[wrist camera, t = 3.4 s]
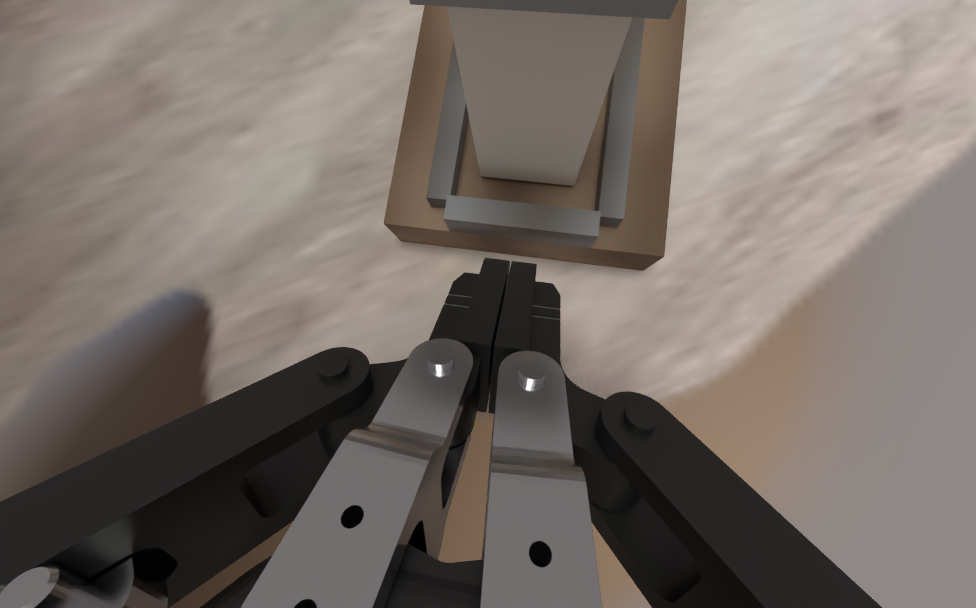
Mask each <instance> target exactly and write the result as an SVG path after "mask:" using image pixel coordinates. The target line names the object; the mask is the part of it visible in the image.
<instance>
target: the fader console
mask: <svg viewBox="0 0 976 608" xmlns="http://www.w3.org/2000/svg"><path fill="white" fill-rule="evenodd" d="M686 3H687V0H678V2H677V4H676V6H675V8H674V11H673V13H672V15H671V17H670V19H652V18H635V17H632V20H631V23H630V26H629V29H628V32H627V35H626V37H625V40H624V43H623V46H622V49H621V52H620V55H619V58H618V61H617V63H616V66H615V69H614V72H613V75H612V78H611V81H610V84H609V87H608V89H607V92H606V95H605V98H604V101H603V104H602V107H601V110H600V113H599V115H598V118H597V121H596V124H595V127H594V130H593V133H592V136H591V139H590V141H589V144H588V147H587V150H586V153H585V156H584V159H583V162H582V165H581V167H580V170H579V173H578V176H577V179H576V182H575V185H574V186H570V185H561V184H551V183H541V182H531V181H522V180H512V179H502V178H492V177H483V176H480V171H479V166H478V161H477V156H476V150H475V145H474V140H473V135H472V130H471V125H470V120H469V115H468V110H467V105H466V100H465V95H464V90H463V85H462V80H461V75H460V70H459V64H458V59H457V54H456V49H455V44H454V39H453V34H452V29H451V24H450V19H449V14H448V9H447V6H432V5H425V7H424V12H423V17H422V22H421V28H420V33H419V38H418V44H417V49H416V54H415V60H414V65H413V70H412V76H411V81H410V86H409V92H408V97H407V102H406V108H405V113H404V118H403V123H402V129H401V134H400V139H399V145H398V150H397V155H396V161H395V166H394V171H393V177H392V182H391V187H390V193H389V198H388V203H387V208H386V214H385V219H384V224H385V225H386V226H387V227H388V228H389V229H390V230H391V231H392V232H393V233H394V234H395V235H396V236H397V237H398V238H399V239H400V240H401V241H406V242H414V243H423V244H431V245H439V246H447V247H455V248H464V249H472V250H480V251H488V252H496V253H505V254H513V255H521V256H529V257H538V258H546V259H554V260H562V261H570V262H579V263H587V264H595V265H603V266H612V267H620V268H628V269H636V270H645V269H646V268H648V267H649V266H651V265H652V264H654V263H655V262H657V261H658V260H660V259H661V258H663V257H664V253H665V241H666V230H667V219H668V207H669V196H670V184H671V173H672V162H673V150H674V139H675V128H676V116H677V105H678V94H679V82H680V71H681V59H682V48H683V37H684V25H685V14H686Z"/></svg>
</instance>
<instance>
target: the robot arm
mask: <svg viewBox="0 0 976 608" xmlns="http://www.w3.org/2000/svg"><path fill="white" fill-rule="evenodd" d="M509 267H510V261H507V260H498V259H490V258H485V259H484V261H483V264H482V268H481V271H480V274H473V273H463V274H462V275H461V276H460V277H458V278H457V279H456V280H455V281H454V282H453V284H452V286H451V289H450V291H449V295H448V296H447V298H446V301H445V305H443V308H442V310H441V313H440V315H439V317H438V320H437V322H436V325H435V327H434V329H433V332H432V334H431V336H430V339H429V341H426V342H424V343H422V344H420V345H419V346H417V347H416V348H415V349H414V350H413V351H412V353H411V354H410V356H409V358H407V359H405V360H401V361H396V362H388V363H378V364H369V361H368V358H367V357H366V356H365V355H364V354H363V353H362V352H360V351H359V350H356V349H354V348H348V347H337V348H331V349H328V350H325V351H322V352H320V353H318V354H315V355H313V356H311V357H309V358H307V359H305V360H303V361H300V362H298V363H296V364H294V365H292V366H290V367H288V368H285V369H283V370H281V371H279V372H277V373H275V374H273V375H270V376H268V377H266V378H264V379H262V380H260V381H258V382H256V383H253V384H251V385H249V386H247V387H245V388H243V389H241V390H238V391H236V392H234V393H232V394H230V395H228V396H226V397H223V398H221V399H219V400H217V401H215V402H213V403H211V404H208V405H206V406H204V407H202V408H200V409H198V410H196V411H194V412H191V413H189V414H187V415H185V416H183V417H181V418H179V419H177V420H174V421H172V422H170V423H168V424H166V425H164V426H161V427H159V428H157V429H155V430H153V431H151V432H149V433H147V434H144V435H142V436H140V437H138V438H136V439H134V440H131V441H129V442H127V443H125V444H123V445H121V446H119V447H117V448H114V449H112V450H110V451H108V452H106V453H104V454H102V455H100V456H97V457H95V458H93V459H91V460H89V461H87V462H85V463H82V464H80V465H78V466H76V467H74V468H72V469H69V470H68V471H65V472H63V473H61V474H59V475H57V476H55V477H53V478H50V479H48V480H46V481H44V482H42V483H40V484H37V485H35V486H33V487H31V488H29V489H27V490H25V491H23V492H20V493H18V494H16V495H14V496H12V497H10V498H8V499H5V500H3V501H1V502H0V608H169V607H171V606H172V605H173V604H175V603H176V602H178V601H179V600H180V599H182V598H184V597H185V596H186V595H188V594H189V593H191V592H192V591H193V590H195V589H196V588H198V587H199V586H201V585H202V584H203V583H205V582H206V581H208V580H209V579H211V578H212V577H214V576H215V575H216V574H218V573H219V572H221V571H222V570H224V569H225V568H226V567H228V566H229V565H231V564H232V563H234V562H235V561H236V560H238V559H239V558H241V557H242V556H243V555H245V554H246V553H248V552H249V551H251V550H252V549H254V548H255V547H256V546H258V545H259V544H261V543H262V542H263V541H265V540H266V539H268V538H269V537H271V536H272V535H273V534H275V533H276V532H278V531H279V530H281V529H282V528H284V527H285V526H286V525H288V524H289V523H291V522H292V521H294V522H293V523H292V525H291V527H290V528H289V530H288V531H287V533H286V535H285V536H284V538H283V539H282V541H281V543H280V544H279V546H278V548H277V549H276V551H275V552H274V554H273V555H272V556H271V557H269V558H267V559H266V560H264V561H262V562H261V563H259V564H257V565H256V566H254V567H253V568H252V569H250V570H249V571H247V572H246V573H245V574H243V575H242V576H241V577H239V578H238V579H237V580H235V581H234V582H233V583H232V584H230V585H229V586H228V587H226V588H225V589H224V590H222V591H221V592H220V593H218V594H217V595H216V596H214V597H213V598H212V599H211V600H209V601H208V602H207V603H205V604H204V605H203V606H202V607H200V608H603V607H602V600H601V592H600V585H599V577H598V569H597V562H596V554H595V546H594V539H593V531H592V523H593V525H594V526H595V527H596V529H597V530H598V532H599V533H600V535H601V536H602V537H603V539H604V540H605V542H606V543H607V544H608V546H609V547H610V549H611V550H612V551H613V553H614V554H615V556H616V557H617V559H618V560H619V561H620V563H621V564H622V566H623V567H624V568H625V569H626V571H627V573H628V574H629V576H630V577H631V578H632V580H633V581H634V583H635V584H636V585H637V587H638V588H639V590H640V591H641V592H642V594H643V595H644V597H645V598H646V600H647V601H648V602H649V604H650V605H651V607H652V608H882V607H881V606H879V604H877V602H875V601H874V600H873V599H872V598H871V597H870V596H869V595H868V594H867V593H866V592H865V591H863V590H862V589H861V588H860V587H859V586H858V585H857V584H856V583H855V582H853V580H851V579H850V578H849V577H848V576H847V575H846V574H845V573H844V572H843V571H842V570H841V569H839V568H838V567H837V566H836V565H835V564H834V563H833V562H832V561H831V560H830V559H828V557H826V556H825V555H824V554H823V553H822V552H821V551H820V550H819V549H818V548H817V547H816V546H814V545H813V544H812V543H811V542H810V541H809V540H808V539H807V538H806V537H805V536H803V535H802V534H801V533H800V532H799V531H798V530H797V529H796V528H795V527H794V526H793V525H792V524H791V523H789V522H788V521H787V520H786V519H785V518H784V517H783V516H782V515H781V514H780V513H778V512H777V511H776V510H775V509H774V508H773V507H772V506H771V505H770V504H769V503H768V502H767V501H765V500H764V499H763V498H762V497H761V496H760V495H759V494H758V493H757V492H756V491H754V490H753V489H752V488H751V487H750V486H749V485H748V484H747V483H746V482H745V481H744V480H743V479H741V478H740V477H739V476H738V475H737V474H736V473H735V472H734V471H733V470H732V469H730V467H728V466H727V465H726V464H725V463H724V462H723V461H722V460H721V459H720V458H719V457H718V456H716V455H715V454H714V453H713V452H712V451H711V450H710V449H709V448H708V447H707V446H705V445H704V444H703V443H702V442H701V441H700V440H699V439H698V438H697V437H696V436H695V435H694V434H692V433H691V432H690V431H689V430H688V429H687V428H686V427H685V426H684V425H683V424H682V423H681V422H679V421H678V420H677V419H676V418H675V417H674V416H673V415H672V414H671V413H670V412H669V411H667V410H666V409H665V408H664V407H663V406H662V405H661V404H659V403H658V402H657V401H655V400H653V399H652V398H650V397H648V396H645V395H642V394H639V393H635V392H619V393H615V394H613V395H611V396H609V397H608V398H607V399H606V400H605V399H603V398H601V397H598V396H596V395H594V394H591V393H589V392H587V391H585V390H583V389H581V388H579V387H578V386H576V385H575V384H574V383H573V382H571V381H570V379H569V378H568V377H567V376H566V375H565V373H564V371H563V369H562V367H561V363H560V294H559V292H558V291H557V289H556V288H555V286H554V285H553V284H552V283H544V282H536V281H535V277H536V267H537V264H531V263H523V262H515V261H512V262H511V267H510V272H509ZM490 389H491V390H490ZM489 394H490V402H489V413H494V422H493V432H492V443H491V454H490V467H489V478H488V490H487V491H488V492H487V503H486V515H485V526H484V538H483V549H482V560H475V561H465V562H456V563H444V562H441V561H438V560H437V559H438V556H439V552H440V548H441V544H442V539H443V533H444V527H445V522H446V517H447V514H448V510H449V507H450V504H451V500H452V497H453V494H454V490H455V487H456V484H457V481H458V477H459V474H460V471H461V468H462V464H463V461H464V458H465V454H466V451H467V448H468V445H469V442H470V437H471V432H472V429H473V426H474V421H475V417H476V412H477V411H480V412H486V409H487V404H488V399H489ZM591 522H592V523H591Z"/></svg>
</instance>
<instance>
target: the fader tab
mask: <svg viewBox="0 0 976 608" xmlns="http://www.w3.org/2000/svg"><path fill="white" fill-rule="evenodd" d="M677 2H678V0H410V4H416V5H432V6H447V9H448V14H449V19H450V24H451V29H452V34H453V39H454V44H455V49H456V54H457V59H458V64H459V70H460V75H461V80H462V85H463V90H464V95H465V100H466V105H467V110H468V115H469V120H470V125H471V130H472V135H473V140H474V145H475V150H476V156H477V161H478V166H479V171H480V176H483V177H492V178H502V179H512V180H522V181H531V182H541V183H551V184H561V185H570V186H574V185H575V182H576V179H577V176H578V173H579V170H580V167H581V165H582V162H583V159H584V156H585V153H586V150H587V147H588V144H589V141H590V139H591V136H592V133H593V130H594V127H595V124H596V121H597V118H598V115H599V113H600V110H601V107H602V104H603V101H604V98H605V95H606V92H607V89H608V87H609V84H610V81H611V78H612V75H613V72H614V69H615V66H616V63H617V61H618V58H619V55H620V52H621V49H622V46H623V43H624V40H625V37H626V35H627V32H628V29H629V26H630V23H631V20H632V17H635V18H652V19H670V17H671V15H672V13H673V11H674V8H675V6H676V4H677Z"/></svg>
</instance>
